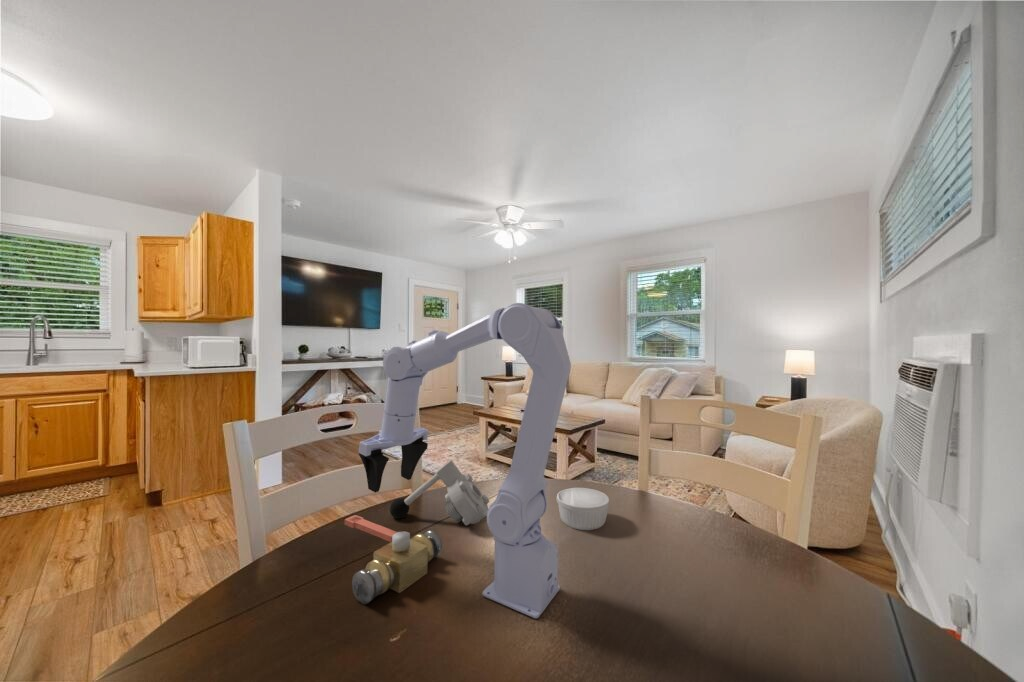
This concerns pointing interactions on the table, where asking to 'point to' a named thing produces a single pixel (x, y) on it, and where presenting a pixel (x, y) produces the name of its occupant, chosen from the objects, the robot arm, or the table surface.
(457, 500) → the mechanical valve
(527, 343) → the robot arm
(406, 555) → the valve pipe
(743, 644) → the table surface
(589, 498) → the ramekin
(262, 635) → the table surface
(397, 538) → the lever
